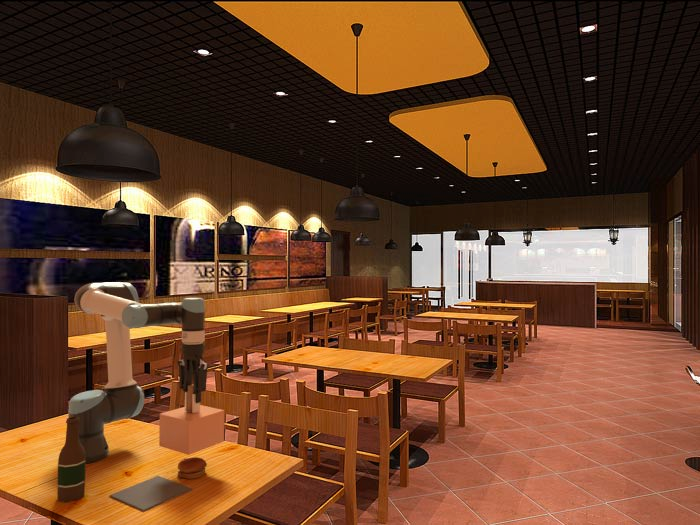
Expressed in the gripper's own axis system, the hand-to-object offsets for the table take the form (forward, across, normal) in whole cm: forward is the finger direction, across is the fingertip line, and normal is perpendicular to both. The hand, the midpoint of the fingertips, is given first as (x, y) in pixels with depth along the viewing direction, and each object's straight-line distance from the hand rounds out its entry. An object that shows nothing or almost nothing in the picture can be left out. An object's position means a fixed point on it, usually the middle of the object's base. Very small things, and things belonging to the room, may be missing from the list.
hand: (192, 411), depth 168 cm
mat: (+21, +2, -17) cm, 27 cm away
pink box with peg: (+11, 0, 0) cm, 11 cm away
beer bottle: (+21, -16, -32) cm, 42 cm away
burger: (+21, 0, 0) cm, 21 cm away
